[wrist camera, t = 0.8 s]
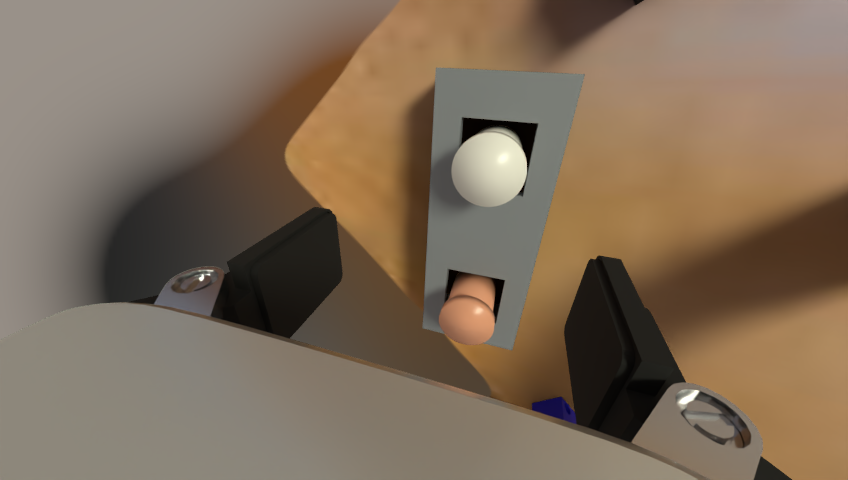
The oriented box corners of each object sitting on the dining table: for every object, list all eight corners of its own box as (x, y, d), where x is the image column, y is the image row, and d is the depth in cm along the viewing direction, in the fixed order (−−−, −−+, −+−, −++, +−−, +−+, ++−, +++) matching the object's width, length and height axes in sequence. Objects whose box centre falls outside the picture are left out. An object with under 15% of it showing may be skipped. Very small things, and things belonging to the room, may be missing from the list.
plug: (532, 123, 24) (534, 137, 19) (520, 184, 26) (518, 211, 21) (469, 118, 25) (454, 130, 20) (462, 177, 27) (448, 201, 22)
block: (572, 73, 25) (584, 74, 20) (514, 313, 38) (512, 350, 33) (452, 68, 27) (435, 67, 22) (435, 295, 40) (422, 328, 35)
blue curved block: (531, 402, 44) (532, 444, 39) (561, 395, 42) (566, 439, 37) (575, 452, 47) (581, 498, 42) (605, 448, 45) (615, 496, 40)
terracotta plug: (502, 270, 31) (498, 309, 26) (495, 308, 33) (489, 350, 28) (454, 261, 32) (440, 296, 27) (450, 298, 34) (437, 337, 29)
